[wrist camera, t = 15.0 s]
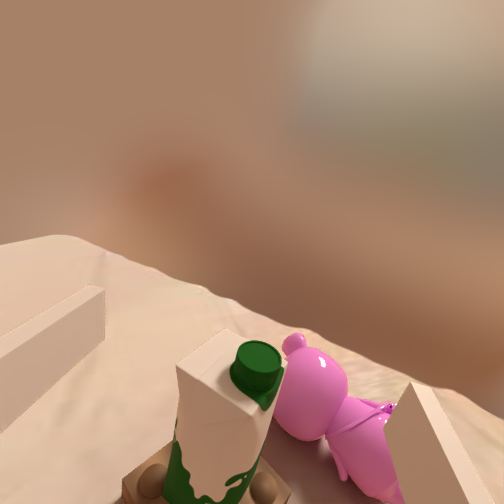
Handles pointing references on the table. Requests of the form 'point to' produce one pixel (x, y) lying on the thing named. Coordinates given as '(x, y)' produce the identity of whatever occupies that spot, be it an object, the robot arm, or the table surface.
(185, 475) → the soya milk
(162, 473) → the base brick
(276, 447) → the table surface
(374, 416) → the toy character
